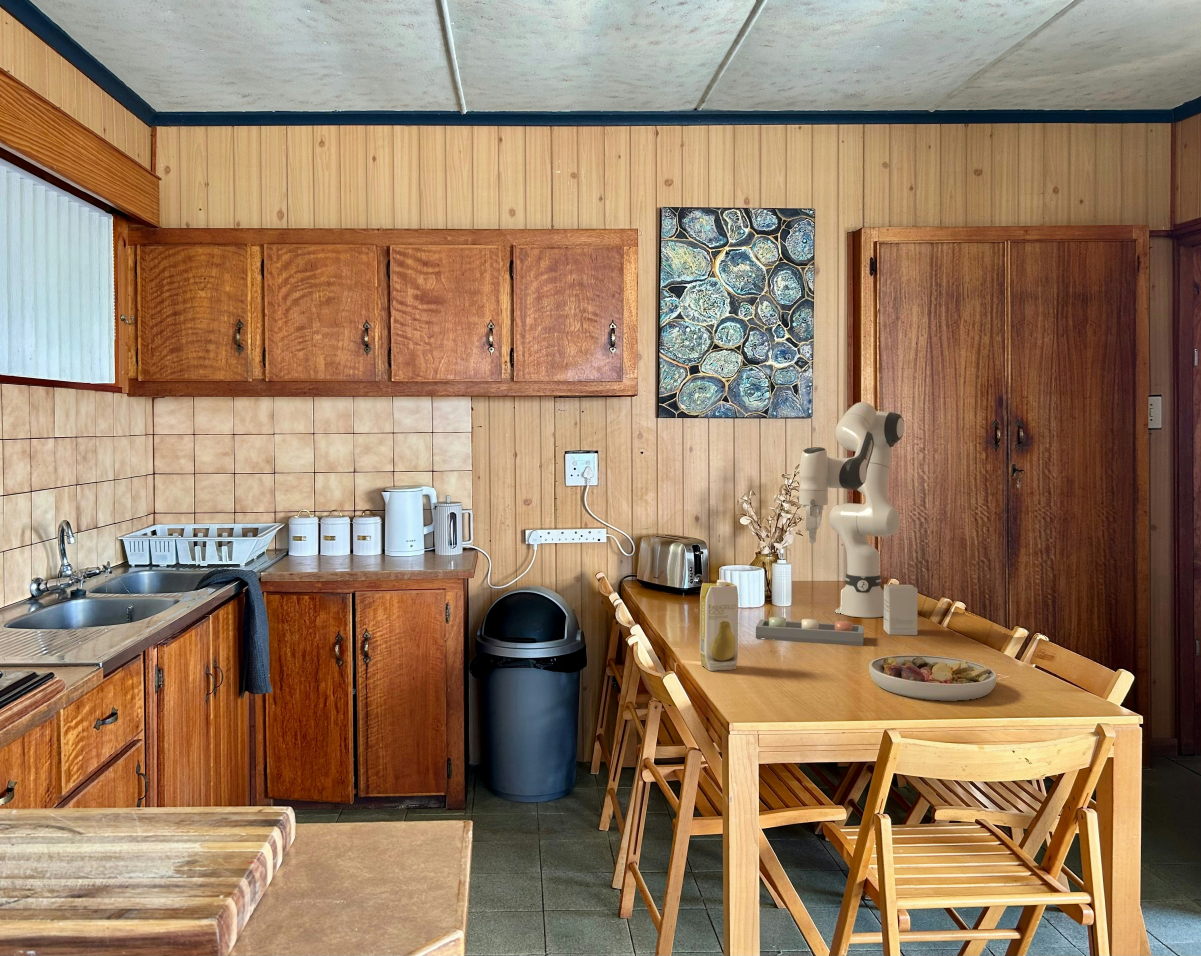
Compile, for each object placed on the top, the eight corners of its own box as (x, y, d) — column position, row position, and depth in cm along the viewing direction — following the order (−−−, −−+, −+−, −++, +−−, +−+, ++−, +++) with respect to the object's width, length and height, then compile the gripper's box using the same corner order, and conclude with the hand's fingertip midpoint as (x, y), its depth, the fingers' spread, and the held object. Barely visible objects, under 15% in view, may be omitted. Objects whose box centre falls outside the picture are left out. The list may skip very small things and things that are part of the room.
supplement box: (911, 629, 305) (912, 584, 304) (917, 635, 296) (918, 588, 295) (882, 629, 306) (883, 583, 305) (888, 634, 297) (889, 587, 296)
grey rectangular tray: (760, 631, 301) (760, 619, 301) (863, 637, 292) (863, 625, 292) (755, 638, 290) (755, 626, 290) (863, 645, 281) (863, 633, 281)
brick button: (834, 632, 291) (835, 620, 291) (852, 634, 290) (852, 621, 290) (834, 636, 286) (834, 623, 286) (851, 637, 285) (852, 624, 285)
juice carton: (707, 672, 248) (708, 582, 247) (696, 665, 256) (697, 577, 254) (740, 670, 250) (741, 581, 249) (728, 663, 258) (729, 576, 257)
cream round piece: (802, 630, 294) (802, 618, 294) (819, 631, 293) (819, 619, 293) (800, 634, 289) (801, 621, 289) (818, 635, 288) (818, 622, 288)
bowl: (895, 667, 256) (896, 638, 255) (1011, 686, 237) (1012, 655, 237) (849, 690, 233) (849, 658, 232) (973, 713, 214) (973, 678, 213)
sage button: (769, 628, 297) (770, 616, 297) (786, 629, 296) (786, 617, 295) (768, 632, 292) (768, 619, 292) (785, 633, 291) (785, 620, 290)
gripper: (821, 501, 284) (820, 546, 285) (825, 497, 304) (824, 539, 304) (800, 500, 286) (799, 545, 286) (805, 496, 305) (804, 539, 306)
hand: (812, 542), depth 296 cm, fingers closed
